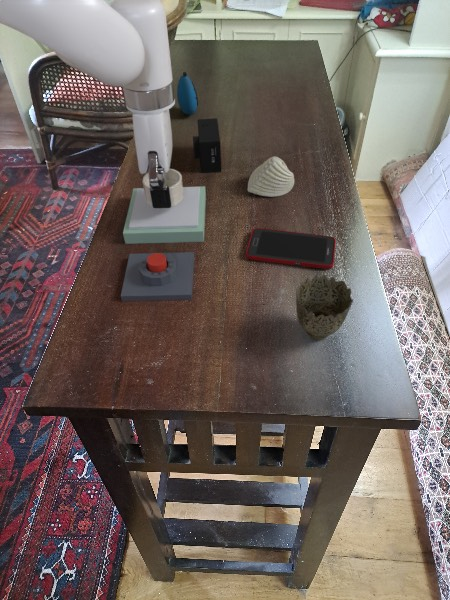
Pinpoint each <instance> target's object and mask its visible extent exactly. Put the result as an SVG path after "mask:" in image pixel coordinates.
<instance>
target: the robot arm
mask: <svg viewBox="0 0 450 600" xmlns="http://www.w3.org/2000/svg"><path fill="white" fill-rule="evenodd" d="M0 24H1V25H4V26H6V27H8V28H10V29H13V30H14V31H16V32H19V33H21V34H23V35H25V36H26V37H29V38H31V39H32V40H34V41H36V42H38V43H39V44H41V45H42V46H44V47H46V48H48V49H50V50H52V51H53V52H54V54H55V55H56V56H57V57H58V58H59V59H60V60H61V61H62V62H64V63H65V64H66V65H68V66H69V67H71V68H73V69H75V70H77V71H79V72H81V73H83V74H85V75H87V76H89V77H91V78H93V79H95V80H96V81H97V82H100V83H102V84H104V85H106V86H109V87H113V88H121V87H122V93H123V97H124V102H125V107H126V109H127V110H128V111H129V112H131V113H132V115H131V116H132V128H133V137H134V145H135V152H136V159H137V167H138V172H139V173H140V174H141V175H145V174H147V173H148V174H149V186H150V194H151V200H152V206H153V208H171V198H170V191H169V186H167V179H166V173H167V172H168V171H169V169H174V166H173V162H172V156H173V131H172V123H171V122H172V121H171V114H170V109H172V108H173V107H174V106H175V104H176V97H175V87H174V79H173V69H172V62H171V52H170V42H169V34H168V33H169V32H168V24H167V15H166V9H165V6H164V4H163V2H162V0H113V1H109V2H106V1H105V0H0ZM160 168H163V170H158V169H160ZM158 174H162V180H163V182H162V180H159V177H158Z"/></svg>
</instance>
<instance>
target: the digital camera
mask: <svg viewBox="0 0 450 600" xmlns="http://www.w3.org/2000/svg"><path fill="white" fill-rule="evenodd" d="M196 122H197V133H198V135H193V136H192V145H193V146H192V147H193V158H194V159H200V160H199V161H200V170H201V171H200V172H201V173H202V174H204V173H222V152H221V151H222V150H221V137H220V129H219V121H218V118H217V117H214V118H198V119H197V121H196Z"/></svg>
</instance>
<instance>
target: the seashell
mask: <svg viewBox="0 0 450 600" xmlns="http://www.w3.org/2000/svg"><path fill="white" fill-rule="evenodd" d="M294 185H295V175H294V173H293V172H292V171H290V169H289V168H288V166H287V164H286V163H285V161H284V160H282V159H281V158H280V157H278V156H272V157H269V158H267V159H266V160H264V162H263V163H262V164H260V165H259V166H257V167H256V168H255V169H254V170H253V171H252V173H251V174H250V176H249V178H248V182H247V192H248V193H251V194H253V195H258V196H261V197H269V198H275V197H276V198H277V197H281V196H284V195H286V194H288V193H289V192H291V190H292V189H293V188H294Z"/></svg>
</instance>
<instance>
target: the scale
mask: <svg viewBox="0 0 450 600" xmlns="http://www.w3.org/2000/svg"><path fill="white" fill-rule="evenodd" d="M183 191H184V197H183V199H182V200H181V202H180V203H178V204H177V205H175V206H173V207H171V208H153V206H152V205H150V204H148V203H147V201H146V199H145V193H144V188H143V187H137V188H136V187H135V188H133V189H132V194H131V198H130V201H129V206H128V210H127V215H126V218H125V222H124V227H123V231H122V236H123V240H124V244H126V245H130V244H168V243H169V244H170V243H171V244H173V243H204V242H205V230H206V229H205V228H206V205H207V194H206V192H207V191H206V186H205V185H203V186H183Z"/></svg>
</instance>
